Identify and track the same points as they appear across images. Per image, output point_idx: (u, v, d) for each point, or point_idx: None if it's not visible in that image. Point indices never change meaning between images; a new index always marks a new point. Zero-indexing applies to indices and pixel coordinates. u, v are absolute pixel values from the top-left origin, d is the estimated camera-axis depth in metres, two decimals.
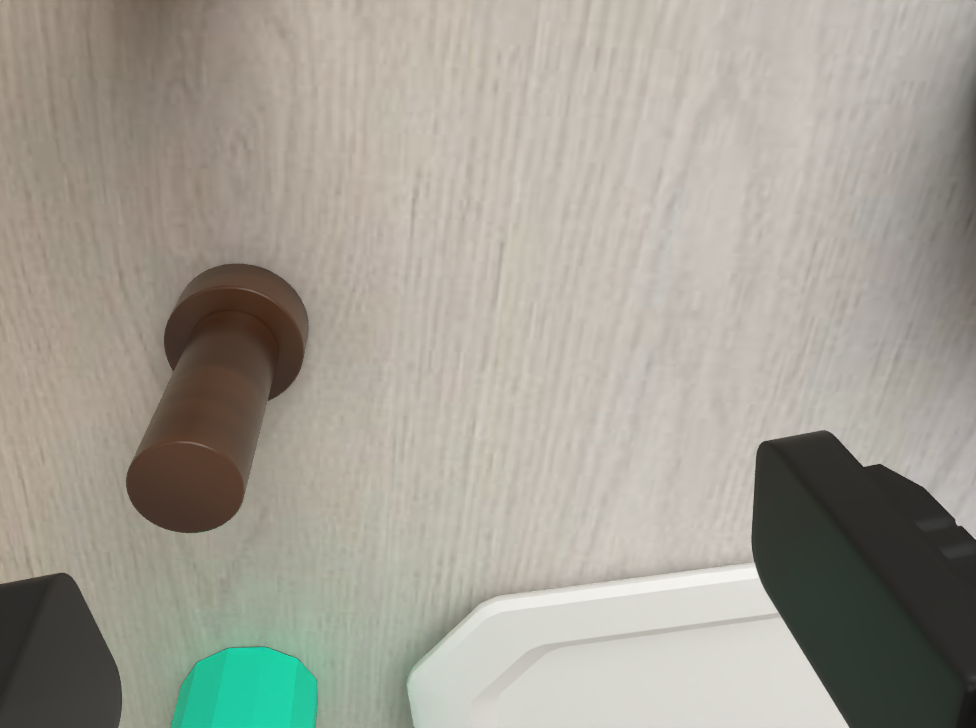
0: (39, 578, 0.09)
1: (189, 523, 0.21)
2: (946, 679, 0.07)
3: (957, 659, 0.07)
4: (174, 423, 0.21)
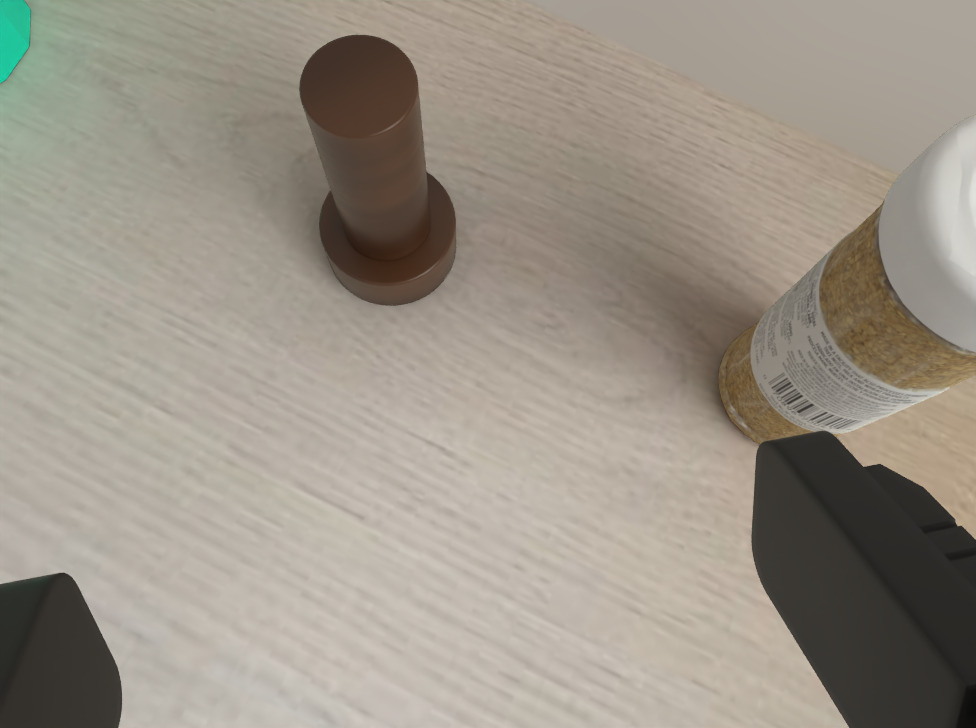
0: (39, 578, 0.09)
1: (318, 68, 0.20)
2: (946, 679, 0.07)
3: (957, 659, 0.07)
4: (418, 115, 0.21)
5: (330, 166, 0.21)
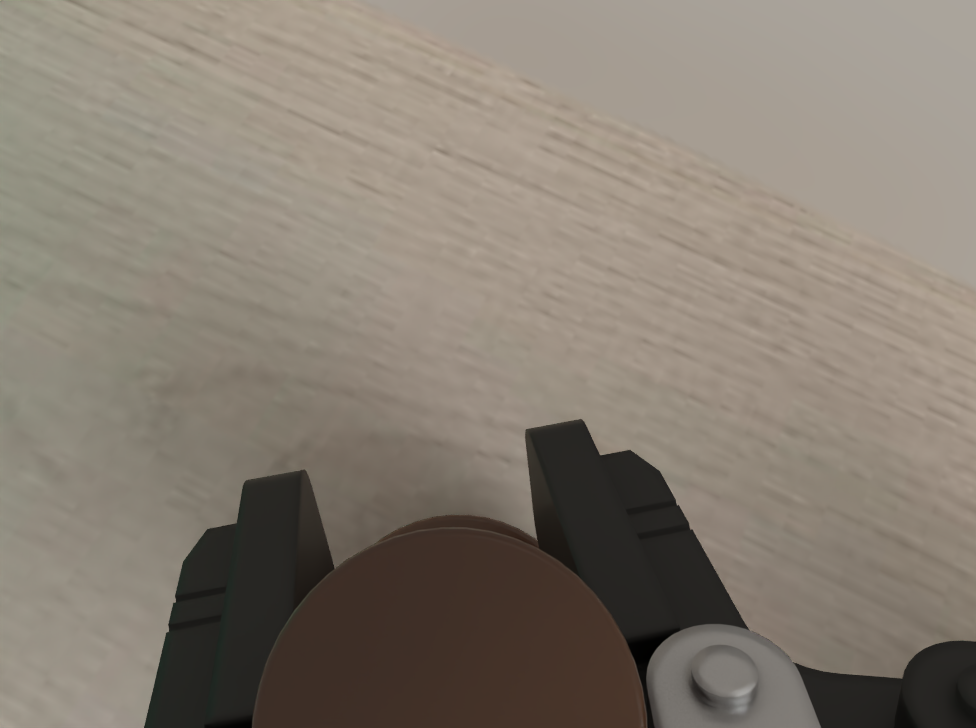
0: (288, 473, 0.10)
1: (316, 665, 0.06)
2: None
3: None
4: None
5: None
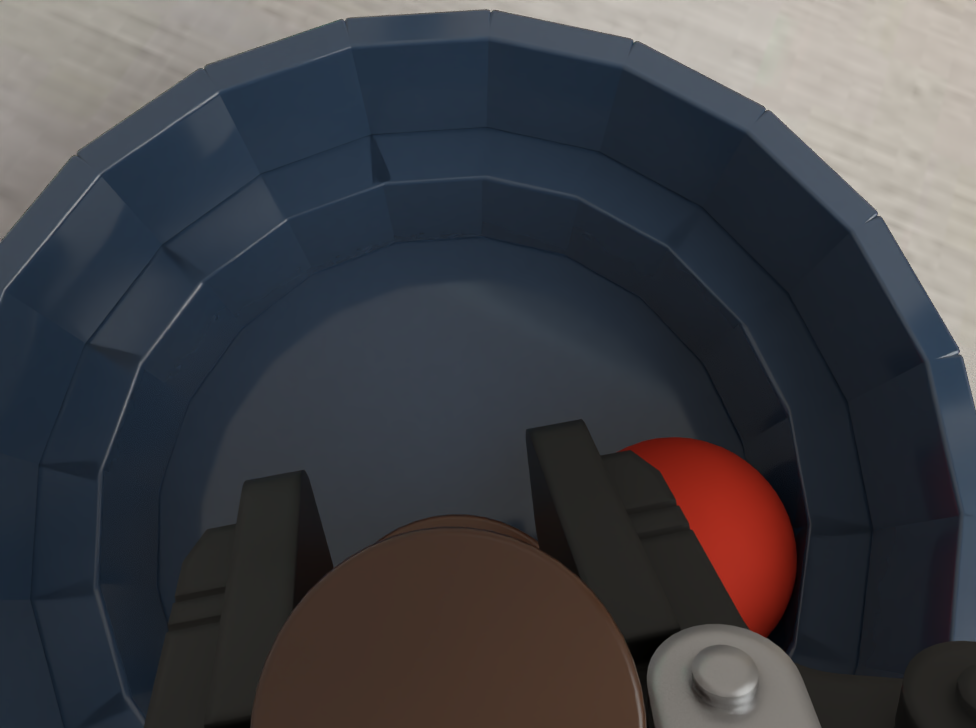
0: (288, 473, 0.10)
1: (313, 663, 0.06)
2: None
3: None
4: None
5: None
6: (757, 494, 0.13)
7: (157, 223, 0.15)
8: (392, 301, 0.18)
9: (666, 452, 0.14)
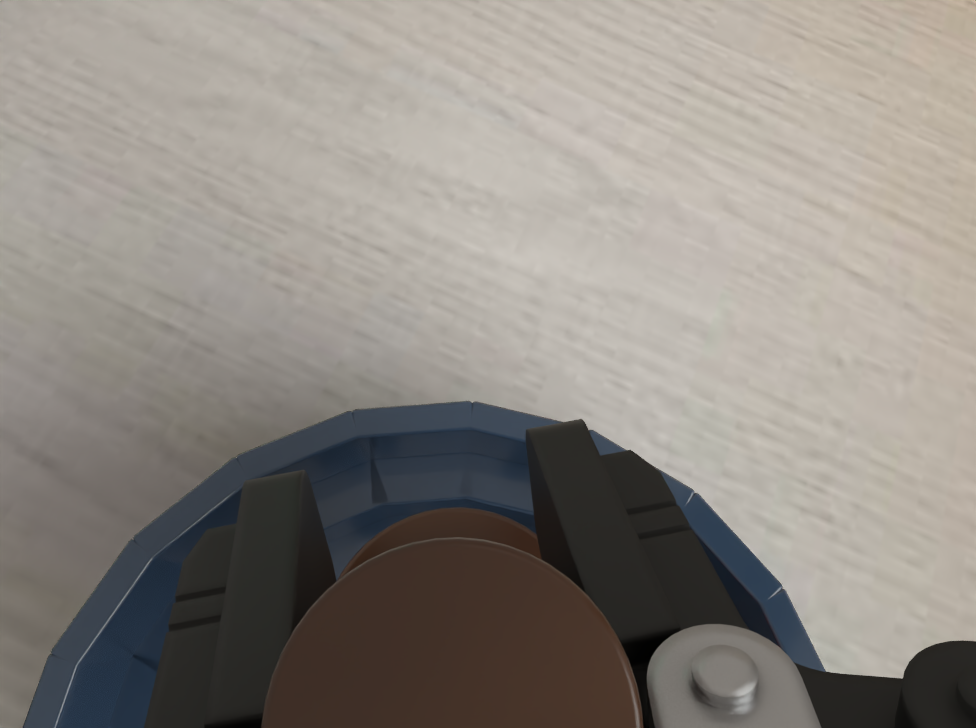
0: (288, 473, 0.10)
1: (320, 679, 0.06)
2: None
3: None
4: None
5: None
6: None
7: None
8: None
9: None
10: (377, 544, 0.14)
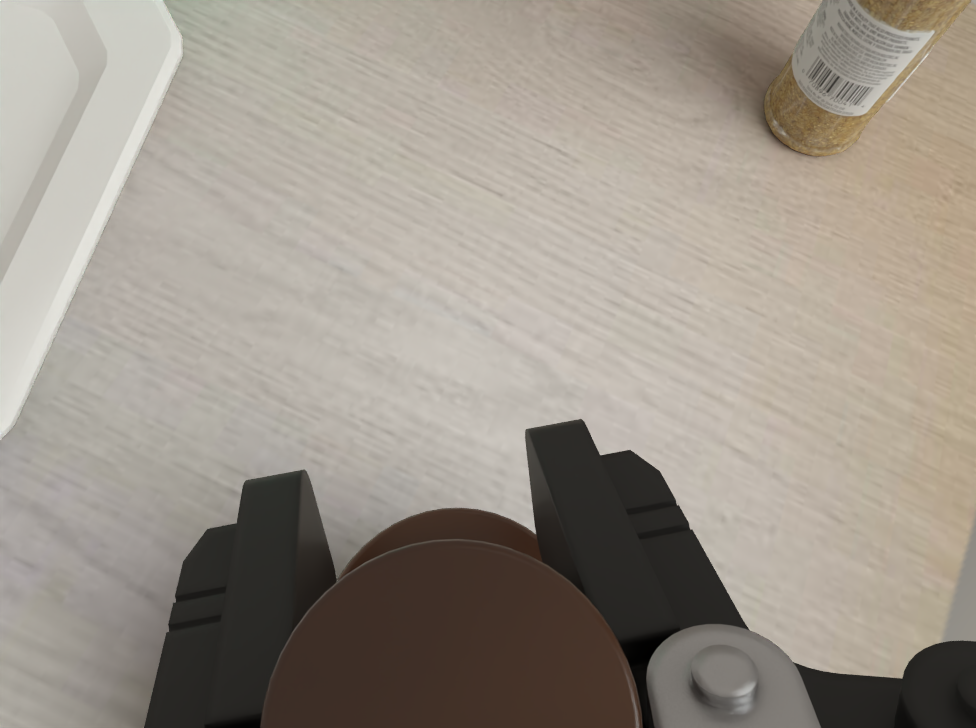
0: (288, 473, 0.10)
1: (317, 681, 0.06)
2: None
3: (607, 620, 0.07)
4: None
5: None
6: None
7: None
8: None
9: None
10: (377, 545, 0.14)
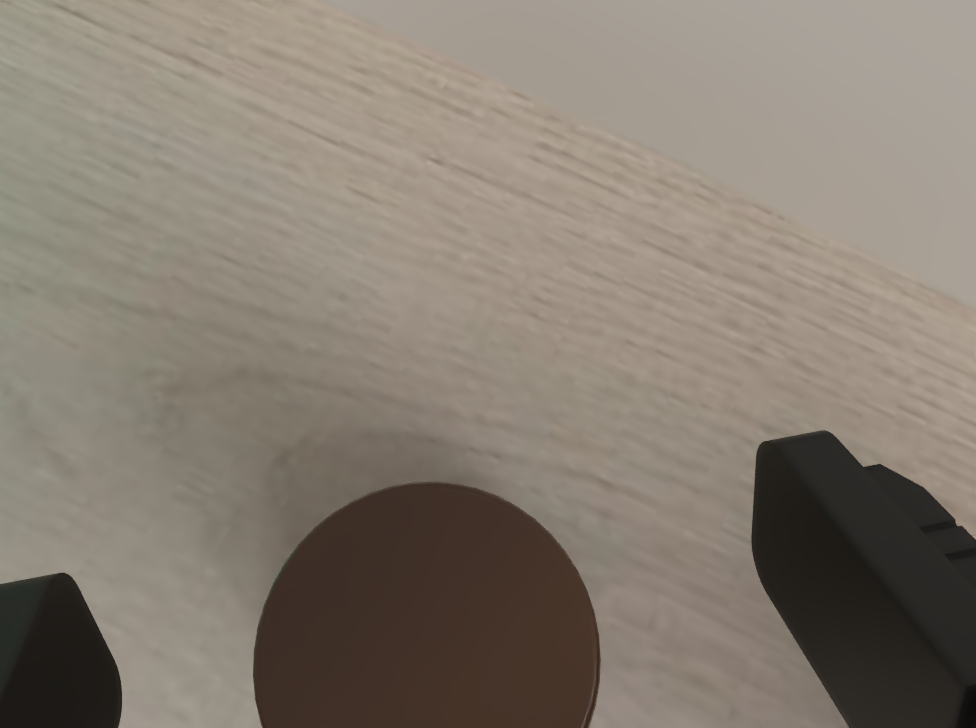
0: (39, 578, 0.09)
1: (307, 606, 0.07)
2: (946, 679, 0.07)
3: (957, 659, 0.07)
4: None
5: None
6: None
7: None
8: None
9: None
10: None
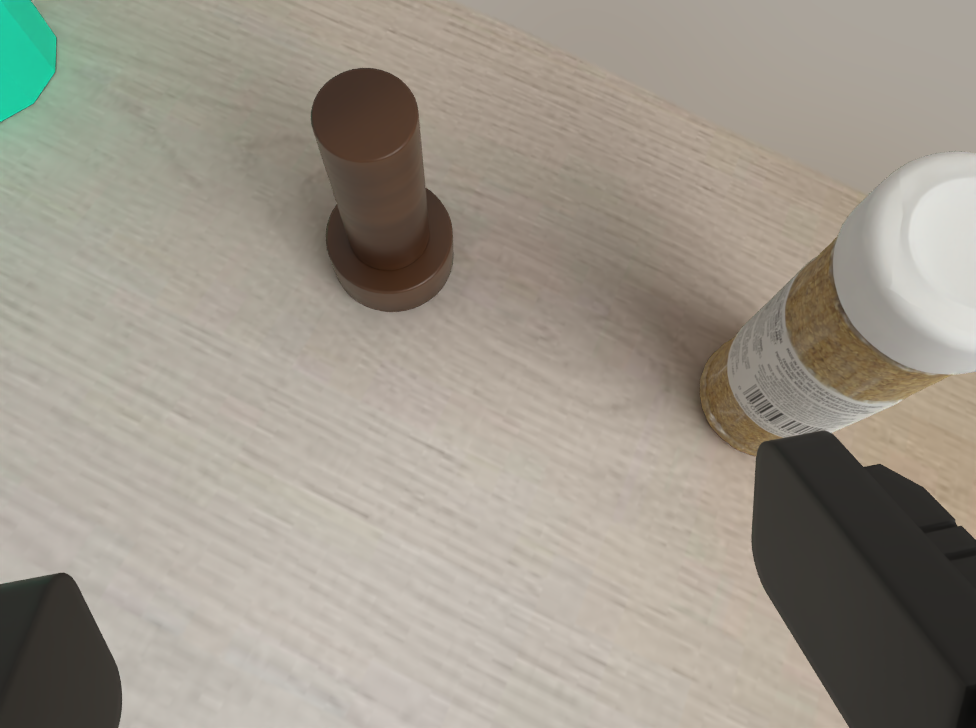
0: (39, 578, 0.09)
1: (327, 99, 0.22)
2: (946, 679, 0.07)
3: (957, 659, 0.07)
4: (419, 138, 0.23)
5: (339, 187, 0.23)
6: None
7: None
8: None
9: None
10: None
